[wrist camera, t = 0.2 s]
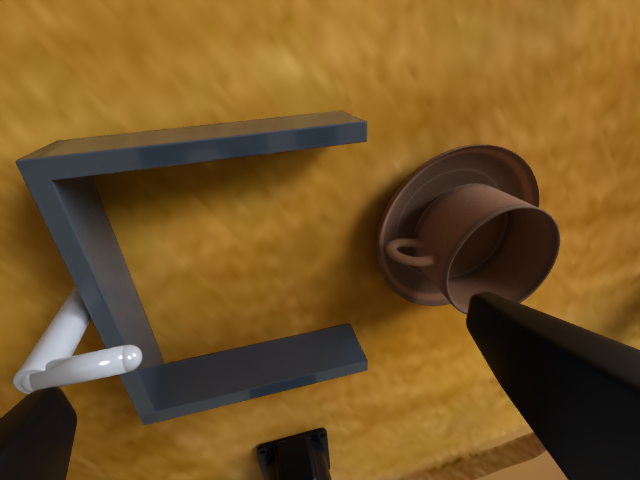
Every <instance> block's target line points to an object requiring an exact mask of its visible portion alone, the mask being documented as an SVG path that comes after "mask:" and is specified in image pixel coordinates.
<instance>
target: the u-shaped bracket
mask: <svg viewBox="0 0 640 480" xmlns="http://www.w3.org/2000/svg"><path fill="white" fill-rule="evenodd" d="M366 141H367V121H365V120H363V119H360V118H358V117H356V116H354V115H351V114H349V113H347V112H345V111H333V112H324V113H315V114H305V115H296V116H286V117H277V118H267V119H258V120H249V121H239V122H230V123H220V124H211V125H202V126H192V127H183V128H173V129H164V130H154V131H145V132H136V133H126V134H117V135H107V136H98V137H88V138H79V139H69V140H60V141H55V142H53V143H51V144H49V145H47V146H45V147H43V148H41V149H39V150H37V151H35V152H33V153H31V154H28V155H26V156H24V157H22V158H20V159H18V160H16V164H17V166H18V168H19V170H20V172H21V174H22V177H23V179H24V181H25V183H26V185H27V187H28V189H29V191H30V193H31V195H32V197H33V199H34V201H35V203H36V205H37V207H38V209H39V211H40V214H41V216H42V218H43V220H44V222H45V224H46V226H47V228H48V230H49V232H50V234H51V236H52V238H53V240H54V242H55V244H56V246H57V249H58V251H59V253H60V255H61V257H62V259H63V261H64V263H65V265H66V267H67V269H68V271H69V273H70V275H71V277H72V279H73V281H74V283H75V286H74V287H73V289H72V290H71V292H70V293H69V295H68V296H67V298H66V299H65V301H64V302H63V304H62V305H61V307H60V308H59V310H58V311H57V313H56V314H55V316H54V317H53V319H52V320H51V322H50V323H49V325H48V326H47V328H46V329H45V331H44V332H43V334H42V335H41V337H40V338H39V340H38V341H37V343H36V344H35V346H34V347H33V349H32V350H31V352H30V353H29V355H28V356H27V358H26V359H25V361H24V362H23V364H22V365H21V367H20V368H19V370H18V371H17V373H16V374H15V376H14V378H13V384H14V386H15V387H16V389H18V390H19V391H20V392H22V393H25V394H30V393H31V392H33V391H36V390H39V389H44V388H49V387H53V386H54V387H64V386H68V385H73V384H78V383H82V382H87V381H91V380H96V379H100V378H105V377H109V376H114V375H119V376H120V378H121V380H122V382H123V384H124V386H125V388H126V390H127V392H128V395H129V397H130V399H131V401H132V403H133V405H134V407H135V409H136V411H137V413H138V415H139V417H140V419H141V421H142V423H143V425H148V424H152V423H156V422H160V421H164V420H168V419H172V418H176V417H180V416H184V415H188V414H192V413H196V412H200V411H204V410H209V409H213V408H217V407H221V406H225V405H229V404H233V403H237V402H241V401H245V400H249V399H253V398H257V397H261V396H265V395H269V394H273V393H277V392H282V391H286V390H290V389H294V388H298V387H302V386H306V385H310V384H314V383H318V382H322V381H326V380H330V379H334V378H338V377H342V376H346V375H351V374H355V373H359V372H363V371H367V359H366V356H365V354H364V352H363V350H362V348H361V346H360V344H359V342H358V340H357V337H356V335H355V333H354V331H353V329H352V327H351V325H350V324H345V325H340V326H336V327H331V328H327V329H322V330H318V331H313V332H309V333H304V334H299V335H295V336H290V337H286V338H281V339H277V340H272V341H267V342H263V343H258V344H254V345H249V346H245V347H240V348H236V349H231V350H226V351H222V352H217V353H213V354H208V355H204V356H199V357H195V358H190V359H185V360H181V361H176V362H172V363H167V364H164V361H163V358H162V356H161V353H160V351H159V348H158V346H157V343H156V340H155V338H154V335H153V333H152V330H151V328H150V325H149V322H148V320H147V317H146V315H145V312H144V310H143V307H142V304H141V302H140V299H139V297H138V294H137V291H136V289H135V286H134V284H133V281H132V279H131V276H130V273H129V271H128V268H127V266H126V263H125V261H124V258H123V255H122V253H121V250H120V248H119V245H118V243H117V240H116V237H115V235H114V232H113V230H112V227H111V225H110V222H109V219H108V217H107V214H106V212H105V209H104V207H103V204H102V201H101V199H100V196H99V194H98V191H97V189H96V186H95V183H94V181H93V178H92V176H94V175H102V174H111V173H119V172H127V171H135V170H143V169H151V168H159V167H167V166H175V165H183V164H191V163H199V162H207V161H215V160H223V159H231V158H239V157H247V156H256V155H264V154H272V153H280V152H288V151H296V150H304V149H312V148H320V147H328V146H336V145H344V144H352V143H360V142H366ZM91 319H92V320H93V323H94V325H95V327H96V329H97V331H98V333H99V335H100V337H101V339H102V341H103V343H104V345H105V347H106V349H104V350H99V351H94V352H89V353H84V354H80V355H75V356H73V354H74V352H75V350H76V349H77V347H78V345H79V343H80V341H81V339H82V337H83V335H84V333H85V331H86V329H87V327H88V325H89V323H90V321H91Z"/></svg>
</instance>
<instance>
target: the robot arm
mask: <svg viewBox="0 0 640 480" xmlns="http://www.w3.org/2000/svg"><path fill="white" fill-rule="evenodd" d="M466 324H467V328H468V331H469V332H470V334H471V336H472V338H473V339H474V341H475V343H476V344H477V346H478V348H479V350H480V351H481V353H482V355H483V356H484V358H485V360H486V362H487V363H488V365H489V367H490V368H491V370H492V372H493V374H494V375H495V377H496V379H497V380H498V382H499V383H500V385H501V387H502V388H503V389H504V391H505V392H506V394H507V395H508V397H509V398H510V399H511V401H512V402H513V404H514V405H515V406H516V408H517V409H518V411H519V412H520V413H521V415H522V416H523V418H524V419H525V420H526V422H527V423H528V424H529V426H530V427H531V429H532V430H533V431H534V433H535V434H536V436H537V437H538V438H539V440H540V441H541V443H542V444H543V445H544V447H545V448H546V449H547V451H548V452H549V453H550V455H551V456H552V458H553V459H554V461H555V462H556V463H557V464H558V466H559V467H560V469H561V470H562V471H563V473H564V474H565V476H566V477H567V479H568V480H640V350H638V349H636V348H633V347H631V346H628V345H625V344H623V343H620V342H618V341H615V340H613V339H610V338H607V337H605V336H602V335H600V334H597V333H595V332H592V331H589V330H587V329H584V328H582V327H579V326H576V325H574V324H571V323H569V322H566V321H564V320H561V319H558V318H556V317H553V316H551V315H548V314H546V313H543V312H540V311H538V310H535V309H533V308H530V307H528V306H525V305H522V304H520V303H517V302H515V301H512V300H509V299H507V298H504V297H502V296H499V295H497V294H494V293H491V292H482V293H477V294H474V295H472V296H471V298H470V301H469V307H468V313H467V318H466ZM76 426H77V416H76V412H75V410H74V409H73V407H72V405H71V404H70V402H69V401H68V399H67V397H66V396H65V394H64V392H63V391H62V390H61V388H59V387H54V386H53V387H49V388H44V389H39V390H36V391H33V392H31V393H30V394H28V395H27V396H26V397H25V398H24V399H23V400H21V401H20V402H19V403H18V404H17V405H16V406H14V407H13V408H12V409H11V410H10V411H9V412H7V413H6V414H5V415H4V416H3V417H2V418H0V480H66V476H67V471H68V466H69V461H70V456H71V451H72V446H73V441H74V436H75V431H76ZM257 455H258V459H259V463H260V467H261V471H262V475H263V479H264V480H331V476H330V472H329V469H330V461H329V450H328V439H327V432H326V429H325V428H320V429H316V430H313V431H309V432H305V433H301V434H298V435H294V436H290V437H287V438H283V439H279V440H276V441H272V442H268V443H264V444H261V445H259V446H258V447H257Z"/></svg>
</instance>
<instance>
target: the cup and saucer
mask: <svg viewBox="0 0 640 480" xmlns="http://www.w3.org/2000/svg"><path fill="white" fill-rule="evenodd" d="M559 246H560V234H559V229H558V226H557V224H556V222H555V220H554V219H553V217H552V216H551V215H550V214H548V213H547V212H546V211H544V210H542V209H540V208H539V190H538V185H537V181H536V179H535V176H534V174H533V172H532V170H531V168H530V167H529V165H528V164H527V163H526V162H525V161H524V160H523V159H522V158H521V157H520V156H519V155H517V154H516V153H514V152H512V151H510V150H508V149H505V148H502V147H499V146H494V145H468V146H463V147H458V148H455V149H452V150H449V151H447V152H444V153H442V154H440V155H438V156H436V157H434V158H432V159H431V160H429V161H428V162H426V163H425V164H423V165H422V166H421V167H419V168H418V169H417V170H416V171H415V172H413V173H412V174H411V175H410V176H409V177H408V178H407V179H406V180H405V181H404V183H403V184H402V185H401V186H400V187H399V189H398V190H397V191H396V193H395V194H394V196H393V197H392V199H391V201H390V202H389V204H388V206H387V208H386V210H385V212H384V215H383V217H382V220H381V223H380V227H379V231H378V238H377V255H378V261H379V265H380V268H381V271H382V274H383V276H384V278H385V280H386V281H387V283H388V284H389V286H390V287H391V288H392V289H393V290H394V291H395V292H396V293H397V294H398V295H400V296H401V297H403V298H404V299H406V300H408V301H411V302H413V303H417V304H421V305H429V306H439V305H447V304H452V305H453V306H454V307H455V308H456V309H457V310H459V311H460V312H462V313H464V314H467V313H468V307H469V301H470V298H471V296H472V295H474V294H477V293H482V292H491V293H494V294H497V295H499V296H502V297H504V298H507V299H509V300H512V301H515V302H517V303H521V302H522V301H524V300H525V299H526V298H528V297H529V296H530V295H531V294H532V293H533V292H534V291H535V290H536V289H537V288H538V287H539V286H540V285H541V284H542V283H543V281H544V280H545V279H546V277H547V276H548V274H549V273H550V271H551V269H552V267H553V265H554V263H555V261H556V258H557V255H558V251H559Z"/></svg>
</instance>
